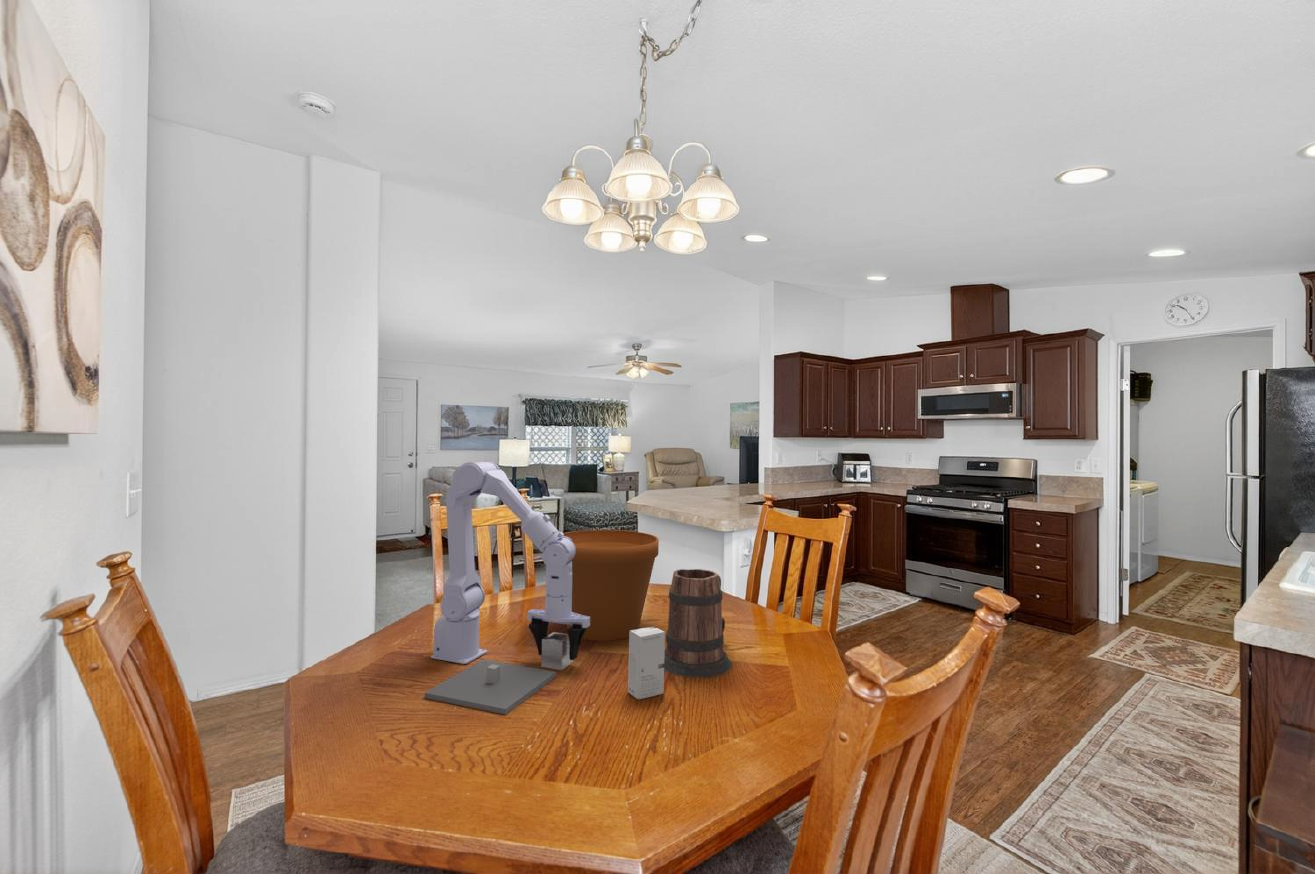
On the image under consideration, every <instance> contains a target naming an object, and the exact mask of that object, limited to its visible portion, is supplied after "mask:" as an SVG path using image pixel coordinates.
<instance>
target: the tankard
mask: <svg viewBox="0 0 1315 874" xmlns="http://www.w3.org/2000/svg"><path fill="white" fill-rule="evenodd" d="M671 579H672V580H671V584H670V588H669V590H668V599H669V603H668V605H669V607H668V618H667V619H668V622H667V630H666V631H665V643H666V647H665V653H664V672H667V673H668V674H671V675H674V676H679V677H685V678H693V679H694V678H695V679H696V678H699V679H703V678H712V677H717V676H720V675H724V674H726V673H727V672H730V670H731V669H732V668H733V663H732V660H731V659H729V657H728V655H727V653H726V652H725V651H724V647H723V646H724V642H725V641H724V640H725V639H724V637H725V636H724V631H725V627H726V621H725V618H724V617H723V616H722V614H723V613H722V612H723V609H722V607H723V606H722V605H723V604H722V603H723V602H722V601H723V590H722V588H721V587H722V578H721V576H720V575H719V574H718V573H717V572H715V571H713V570H709V569H702V568H700V569H699V568H694V569H683V568H682V569H681V568H680V569H676V570H674V571H673V574H672V578H671Z"/></svg>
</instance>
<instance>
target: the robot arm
mask: <svg viewBox="0 0 1315 874" xmlns="http://www.w3.org/2000/svg"><path fill="white" fill-rule="evenodd" d="M452 476H453V478H452V480H451V481H452V482H451V484H450V485H449V488H448V490H447V493H446V495H445V506H446V508H445V509H446V525H447V545H448V546H447V547H448V549H447V550H448V565H449V567H448V568H449V576H448V578H447V579H446V581H445V583H444V585H443V595H442V598H441V600H440V605H439V606H440V611H441V614H442V615H440V616H439V617H438V618H437V620H436V621H435V624H434V628H433V654H431V656H430V659H432V660H433V659H434V660H441V661H446V662H451V663H456V664H462V665H466V664H469V663H470V662H472V661H474V660H475V659H478V658H479V657H481V656H483V655H485V654H486V653H488V650H487V649H483V648H480V613H481V612H480V611H481V610H480V609H481V608H480V607H482V606H483V604H484V602H485V600H486V593H485V590H484V588H483V587H482V586H483V585H482V583H481V577H480V575H479V574H478V573H477V572H476V567H475V566H476V565H475V548H474V546H475V544H474V530H473V527H474V526H473V508H472V503H473V502H474V501H475V500H476V499H477V498H478V497H479V496H480V495H482V494H485V495H489V496H490V495H491V496H495V497H497V498H498V499H499V500H500V501H501V502H502V503H503V504H504V505H505V506H506V508H508V509H509V510H510V511H511V512H512V513H513V515H515V516H516V517H517V519H519V520H520V522H521V531H522V532H523V533H524V534H525V536H527V537H528V539H529V540H530V541H531V542H532V543H533V544H534V546H535V547H536V548H537V549H538V551H540V552H542V554H541V559H542V562H543V563H544V564H545V566H546V567H545V603H544V604H545V607H544V608H545V609H534V608H532V609H530V610H528V611H527V614H526V615H527V616H526V617H527V618H526V620H527V621H531V622H530V623H528V628H529V631H530V632H531V633H532V636H533V638H534V641H535V643H536V644H535V645H536V648H537V651H538V656H542V639H543V638H545V637H546V636H548V632H549V631H548V630H549V625H550V623H555V624H561V625H567V624H568V625H572V627H570V628H569V629H566V630H567V631H566V632H567V634H568V637H569V645H570V648H569V657H570V660H573V661H574V660H576V659H577V658H578V653H579V649H580V645H581V643H582V640H583V639H582V638H583V635H584V633H585V631H586V630H587V628H588V627H589V626H590V617H589V616H584V615H580V614H577V613H573V612H572V561H571V560H572V559H573V558H574V556H575V553H576V547H575V545H574V543H573V541H572V539H571V538H569V537H565V536H564V534H563V533H564V532H563V531H559V530H558V529H557V528H556V527H555V525H554V524H553V523H552V522H551V521H550V519H551V516H549V515H548V514H544V513H543V512H541V511H535V510H533V509H532V507H531V506H530V505H529V504H528V503H527V501H526V500H525V498H524V497H523V496H522V495H521V494H520V492H519V491H518V490H517V488H516V487H515V486H514V485H513V484H512V482H511V481H510V480H509V478H508V476H507V474H506V473H505V471H503V470H502V469H500V467H499V466H498V464H496V463H495V462H493V461H491V460H483V461H475V462H473V461H469V462H468V461H466V462H464V463H463V464H461V465H460V466H459V467H458V468H457V469H455V471H453V473H452ZM570 561H571V562H570ZM568 562H569V563H568ZM566 563H567V564H566Z"/></svg>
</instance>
